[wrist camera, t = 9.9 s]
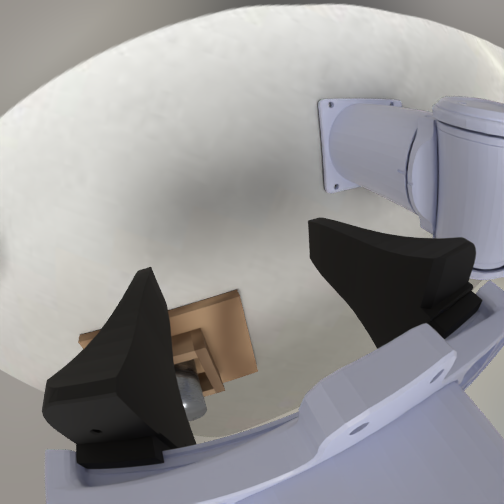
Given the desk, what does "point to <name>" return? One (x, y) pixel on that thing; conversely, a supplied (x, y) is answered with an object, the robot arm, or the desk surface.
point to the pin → (190, 389)
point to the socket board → (209, 340)
